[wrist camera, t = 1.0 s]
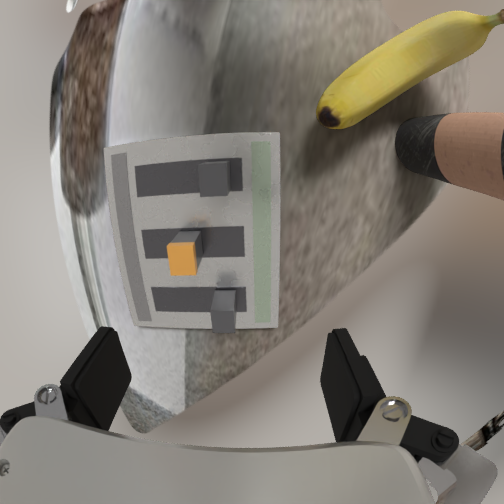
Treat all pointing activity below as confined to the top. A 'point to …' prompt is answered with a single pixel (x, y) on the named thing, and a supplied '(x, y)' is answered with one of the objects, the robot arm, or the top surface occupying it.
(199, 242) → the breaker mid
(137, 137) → the top surface
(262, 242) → the panel
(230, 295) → the breaker far
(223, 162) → the block
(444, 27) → the banana
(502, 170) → the travel mug
